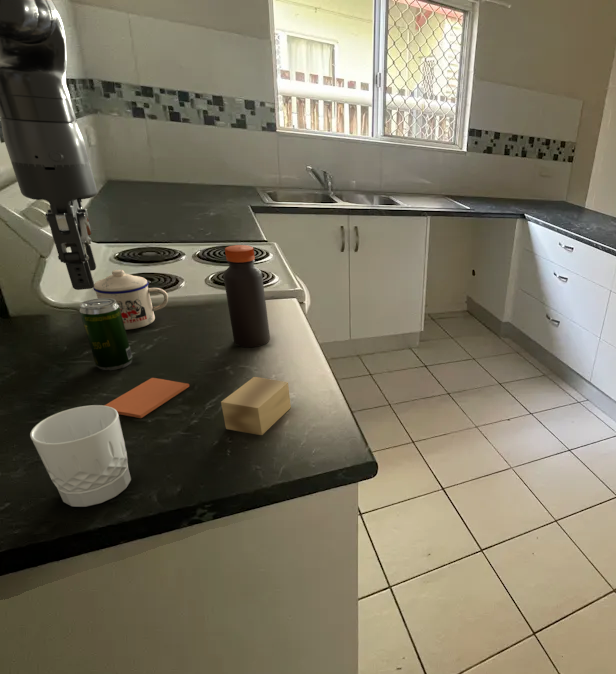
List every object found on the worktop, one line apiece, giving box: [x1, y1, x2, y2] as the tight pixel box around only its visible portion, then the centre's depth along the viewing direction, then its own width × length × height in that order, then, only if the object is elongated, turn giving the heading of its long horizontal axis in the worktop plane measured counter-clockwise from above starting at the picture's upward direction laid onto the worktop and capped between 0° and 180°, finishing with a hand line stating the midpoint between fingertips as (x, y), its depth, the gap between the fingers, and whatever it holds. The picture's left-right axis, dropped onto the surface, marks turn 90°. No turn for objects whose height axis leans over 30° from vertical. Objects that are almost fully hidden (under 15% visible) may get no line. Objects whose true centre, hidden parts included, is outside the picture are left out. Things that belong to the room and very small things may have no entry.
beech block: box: [220, 376, 292, 436], centre depth 75 cm, size 6×8×5 cm
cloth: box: [103, 377, 190, 419], centre depth 78 cm, size 7×10×1 cm
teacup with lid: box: [92, 269, 169, 331], centre depth 101 cm, size 12×9×12 cm
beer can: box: [79, 298, 134, 371], centre depth 84 cm, size 5×5×12 cm
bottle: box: [222, 244, 271, 348], centre depth 96 cm, size 7×7×20 cm
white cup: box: [29, 404, 132, 508], centre depth 58 cm, size 8×8×10 cm
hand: (85, 279), depth 67 cm, fingers open, 8 cm apart
